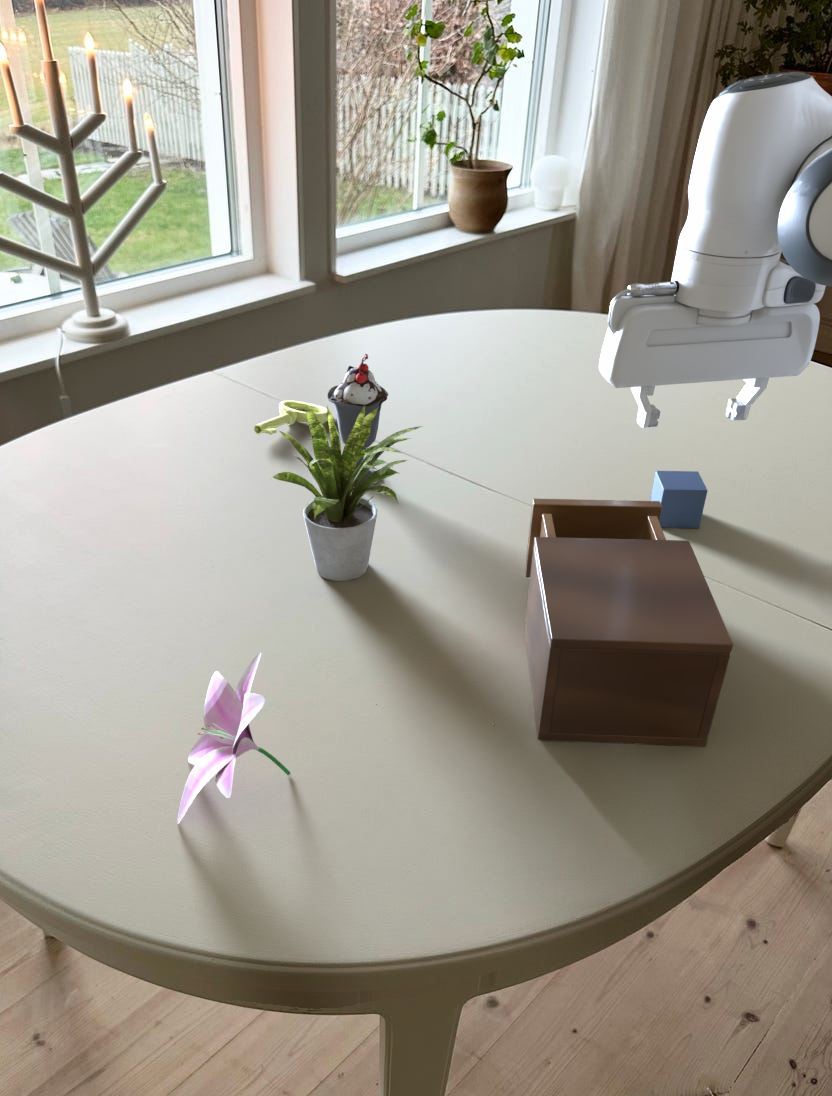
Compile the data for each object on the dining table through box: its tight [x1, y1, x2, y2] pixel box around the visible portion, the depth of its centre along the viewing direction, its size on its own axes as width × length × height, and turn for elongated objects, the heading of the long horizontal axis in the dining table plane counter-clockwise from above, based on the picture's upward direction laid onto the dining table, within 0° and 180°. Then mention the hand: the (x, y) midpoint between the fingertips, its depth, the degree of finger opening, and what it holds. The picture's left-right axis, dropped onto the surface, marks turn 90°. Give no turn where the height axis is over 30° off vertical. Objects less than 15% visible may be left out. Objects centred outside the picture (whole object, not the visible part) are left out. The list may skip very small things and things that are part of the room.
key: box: [253, 400, 328, 436], centre depth 122 cm, size 7×12×2 cm, turn 164°
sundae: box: [326, 353, 389, 486], centre depth 106 cm, size 7×7×15 cm
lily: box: [176, 652, 291, 825], centre depth 68 cm, size 12×12×10 cm
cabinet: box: [523, 537, 734, 747], centre depth 76 cm, size 15×13×10 cm
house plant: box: [270, 405, 423, 582], centre depth 88 cm, size 14×14×16 cm
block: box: [649, 470, 709, 529], centre depth 100 cm, size 4×4×4 cm
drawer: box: [524, 498, 667, 579], centre depth 85 cm, size 18×11×8 cm, turn 176°
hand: (691, 422), depth 95 cm, fingers open, 8 cm apart
